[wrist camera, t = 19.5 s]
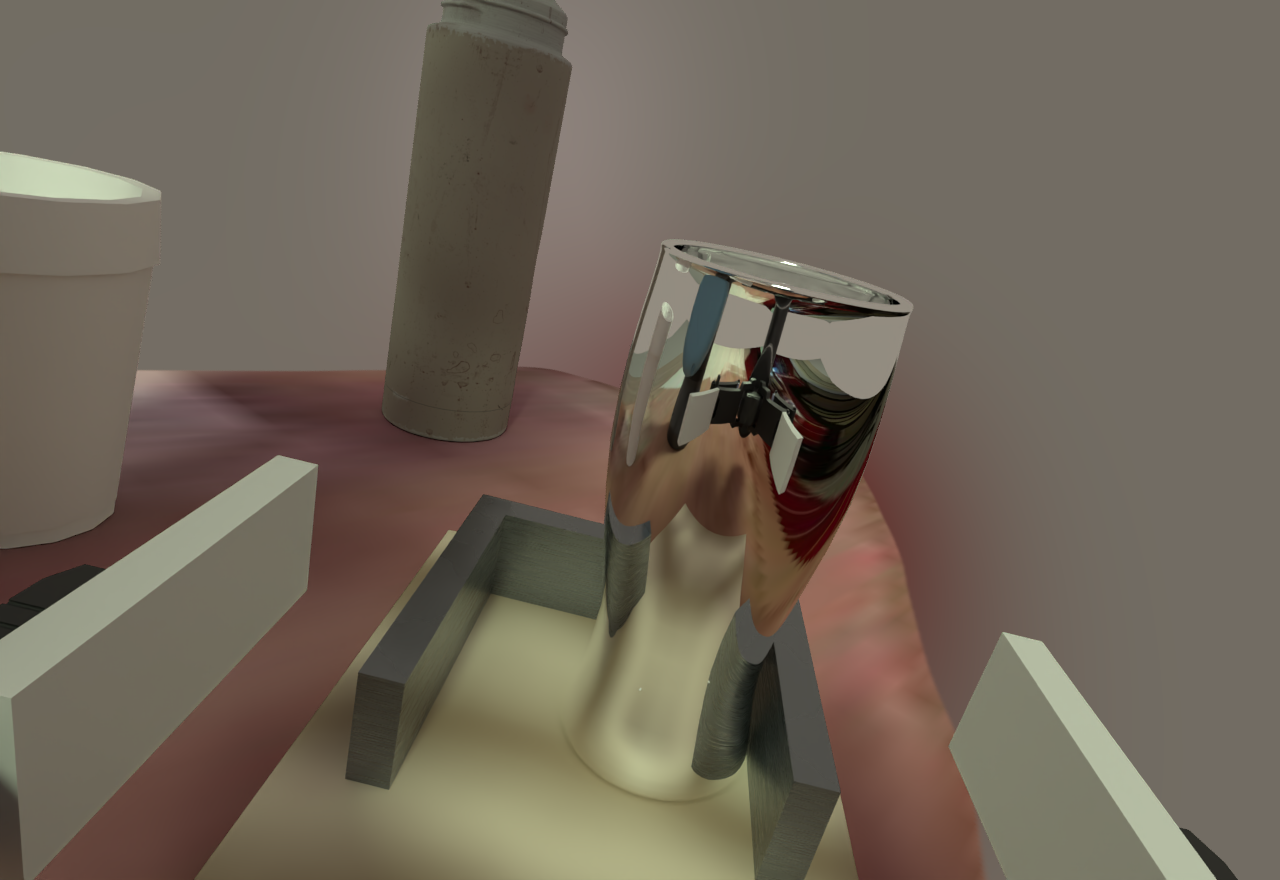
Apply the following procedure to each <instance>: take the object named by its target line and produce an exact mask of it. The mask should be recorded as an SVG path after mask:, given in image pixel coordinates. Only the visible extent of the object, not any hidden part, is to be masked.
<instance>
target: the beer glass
mask: <svg viewBox="0 0 1280 880" xmlns="http://www.w3.org/2000/svg"><path fill="white" fill-rule="evenodd" d="M912 310H913V304H912V303H911V302H910V301H908V300H907V299H905V298H903V297H901V296H899V295H897V294H895V293H892V292H890V291H887V290H885V289H882V288H880V287H876V286H874V285H871V284H868V283H865V282H862V281H859V280H856V279H853V278H850V277H847V276H843V275H840V274H837V273H834V272H830V271H827V270H823V269H819V268H816V267H812V266H809V265H805V264H801V263H797V262H793V261H790V260H785V259H782V258H778V257H774V256H769V255H765V254H760V253H756V252H752V251H747V250H743V249H737V248H732V247H728V246H722V245H717V244H711V243H705V242H698V241H690V240H679V239H669V240H665V241H663V242H662V243H661V250H660V254H659V258H658V261H657V265H656V268H655V271H654V274H653V278H652V281H651V284H650V287H649V290H648V293H647V296H646V299H645V302H644V305H643V308H642V312H641V315H640V318H639V321H638V325H637V328H636V331H635V334H634V338H633V341H632V344H631V348H630V352H629V356H628V359H627V363H626V367H625V371H624V375H623V379H622V382H621V386H620V390H619V395H618V400H617V406H616V411H615V416H614V421H613V427H612V432H611V437H610V448H609V458H608V468H607V478H606V495H605V516H604V541H603V567H602V582H601V595H600V601H599V607H598V612H597V618H596V621H595V625H594V628H593V632H592V635H591V638H590V640H589V643H588V645H587V648H586V650H585V652H584V654H583V656H582V658H581V660H580V662H579V664H578V666H577V669H576V671H575V673H574V675H573V677H572V679H571V681H570V684H569V686H568V688H567V691H566V694H565V697H564V701H563V706H562V720H563V726H564V730H565V733H566V736H567V739H568V741H569V743H570V744H571V746H572V748H573V749H574V751H575V752H576V754H577V755H578V756H579V757H580V759H581V760H582V761H583V762H584V763H585V764H586V765H587V766H588V767H589V768H590V769H591V770H592V771H594V772H595V773H596V774H597V775H599V776H600V777H601V778H603V779H604V780H606V781H607V782H609V783H611V784H613V785H614V786H616V787H618V788H620V789H622V790H625V791H627V792H629V793H632V794H635V795H638V796H641V797H645V798H649V799H654V800H660V801H673V802H679V801H691V800H697V799H701V798H704V797H707V796H710V795H713V794H715V793H717V792H719V791H720V790H722V789H724V788H725V787H726V786H728V785H729V784H730V783H731V782H732V781H733V780H734V779H735V777H736V776H737V774H738V773H739V772H740V770H741V768H742V766H743V763H744V760H745V757H746V753H747V748H748V742H749V734H750V726H751V717H752V708H753V701H754V696H755V690H756V686H757V683H758V679H759V676H760V672H761V669H762V667H763V665H764V662H765V660H766V657H767V655H768V653H769V650H770V648H771V646H772V644H773V643H774V641H775V639H776V637H777V635H778V634H779V632H780V630H781V628H782V626H783V625H784V623H785V621H786V619H787V618H788V616H789V614H790V613H791V611H792V609H793V608H794V606H795V604H796V603H797V601H798V599H799V598H800V596H801V594H802V593H803V591H804V589H805V588H806V586H807V584H808V582H809V581H810V579H811V577H812V576H813V574H814V572H815V570H816V569H817V567H818V565H819V564H820V562H821V560H822V558H823V557H824V555H825V553H826V552H827V550H828V548H829V546H830V544H831V542H832V540H833V538H834V536H835V534H836V532H837V531H838V529H839V527H840V525H841V523H842V521H843V519H844V517H845V515H846V513H847V511H848V509H849V507H850V505H851V503H852V500H853V498H854V495H855V492H856V490H857V487H858V485H859V482H860V480H861V477H862V475H863V472H864V470H865V467H866V465H867V462H868V459H869V456H870V453H871V450H872V447H873V444H874V441H875V438H876V435H877V432H878V429H879V425H880V422H881V419H882V416H883V413H884V409H885V405H886V402H887V398H888V394H889V391H890V387H891V383H892V380H893V376H894V372H895V368H896V364H897V360H898V356H899V352H900V348H901V344H902V341H903V337H904V334H905V330H906V326H907V323H908V320H909V316H910V314H911V312H912Z"/></svg>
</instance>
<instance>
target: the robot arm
mask: <svg viewBox="0 0 1280 880" xmlns="http://www.w3.org/2000/svg"><path fill="white" fill-rule="evenodd" d="M317 474H318V465H317V464H313V463H309V462H305V461H301V460H297V459H293V458H288V457H284V456H280V455H277V456H276V457H274V458H273V459H271V460H270V461H268V462H267V463H265V464H264V465H262V466H261V467H259V468H258V469H256V470H255V471H253V472H252V473H250V474H249V475H247V476H246V477H244V478H243V479H241V480H240V481H238V482H237V483H235V484H234V485H232V486H231V487H229V488H228V489H226V490H225V491H223V492H222V493H220V494H219V495H217V496H216V497H214V498H213V499H211V500H210V501H208V502H207V503H205V504H204V505H202V506H201V507H199V508H198V509H196V510H195V511H193V512H192V513H190V514H189V515H187V516H186V517H184V518H183V519H181V520H180V521H178V522H177V523H175V524H174V525H172V526H170V527H169V528H167V529H166V530H164V531H163V532H161V533H160V534H158V535H157V536H155V537H154V538H152V539H151V540H149V541H148V542H146V543H145V544H143V545H142V546H140V547H139V548H137V549H136V550H134V551H133V552H131V553H130V554H128V555H127V556H125V557H124V558H122V559H121V560H119V561H118V562H116V563H115V564H113V565H112V566H110V567H109V568H107V569H103V568H98V567H94V566H90V565H86V564H85V565H82V566H79V567H76V568H73V569H70V570H67V571H64V572H61V573H58V574H55V575H52V576H49V577H46V578H43V579H41V580H40V581H38V582H37V583H35V584H33V585H32V586H30V587H28V588H27V589H25V590H23V591H22V592H20V593H19V594H17V595H15V596H14V597H12V598H10V599H9V602H8V603H7V604H3V603H2V604H1V605H0V880H34V879H35V877H36V876H37V875H38V874H39V873H40V872H41V871H42V870H43V869H44V868H45V867H46V866H47V865H48V864H49V863H50V862H51V861H52V859H53V858H54V857H55V856H56V855H57V854H58V853H59V852H60V851H61V850H62V849H63V848H64V847H65V846H66V845H67V844H68V843H69V842H70V840H71V839H72V838H73V837H74V836H75V835H76V834H77V833H78V832H79V831H80V830H81V829H82V828H83V827H84V826H85V825H86V824H87V822H88V821H89V820H90V819H91V818H92V817H93V816H94V815H95V814H96V813H97V812H98V811H99V810H100V809H101V808H102V807H103V806H104V804H105V803H106V802H107V801H108V800H109V799H110V798H111V797H112V796H113V795H114V794H115V793H116V792H117V791H118V790H119V789H120V788H121V787H122V785H123V784H124V783H125V782H126V781H127V780H128V779H129V778H130V777H131V776H132V775H133V774H134V773H135V772H136V771H137V770H138V769H139V767H140V766H141V765H142V764H143V763H144V762H145V761H146V760H147V759H148V758H149V757H150V756H151V755H152V754H153V753H154V752H155V751H156V750H157V748H158V747H159V746H160V745H161V744H162V743H163V742H164V741H165V740H166V739H167V738H168V737H169V736H170V735H171V734H172V733H173V732H174V730H175V729H176V728H177V727H178V726H179V725H180V724H181V723H182V722H183V721H184V720H185V719H186V718H187V717H188V716H189V715H190V714H191V712H192V711H193V710H194V709H195V708H196V707H197V706H198V705H199V704H200V703H201V702H202V701H203V700H204V699H205V698H206V697H207V696H208V695H209V693H210V692H211V691H212V690H213V689H214V688H215V687H216V686H217V685H218V684H219V683H220V682H221V681H222V680H223V679H224V678H225V677H226V675H227V674H228V673H229V672H230V671H231V670H232V669H233V668H234V667H235V666H236V665H237V664H238V663H239V662H240V661H241V660H242V659H243V657H244V656H245V655H246V654H247V653H248V652H249V651H250V650H251V649H252V648H253V647H254V646H255V645H256V644H257V643H258V642H259V641H260V640H261V638H262V637H263V636H264V635H265V634H266V633H267V632H268V631H269V630H270V629H271V628H272V627H273V626H274V625H275V624H276V623H277V622H278V620H279V619H280V618H281V617H282V616H283V615H284V614H285V613H286V612H287V611H288V610H289V609H290V608H291V607H292V606H293V605H294V604H295V602H296V601H297V600H298V599H299V598H300V597H301V596H302V595H303V594H304V593H305V592H306V591H307V584H308V573H309V562H310V551H311V540H312V529H313V518H314V507H315V496H316V485H317ZM949 749H950V751H951V753H952V755H953V758H954V760H955V762H956V765H957V767H958V769H959V771H960V774H961V776H962V778H963V781H964V783H965V785H966V788H967V790H968V792H969V794H970V797H971V799H972V801H973V804H974V806H975V808H976V810H977V813H978V815H979V817H980V820H981V822H982V824H983V827H984V829H985V831H986V833H987V836H988V838H989V840H990V843H991V845H992V847H993V849H994V852H995V854H996V856H997V859H998V861H999V863H1000V865H1001V867H1002V870H1003V872H1004V875H1005V877H1006V879H1007V880H1238V879H1237V878H1236V877H1235V876H1234V874H1233V873H1232V872H1231V870H1230V869H1229V868H1228V866H1227V865H1226V864H1225V863H1224V862H1223V861H1222V860H1221V859H1220V858H1219V857H1218V856H1217V855H1216V854H1215V853H1213V852H1212V851H1211V850H1210V849H1209V848H1208V847H1207V846H1206V845H1205V844H1204V843H1202V842H1201V841H1200V840H1199V839H1198V838H1197V837H1196V836H1195V835H1194V834H1193V833H1191V831H1189V830H1187V829H1183V828H1179V827H1178V826H1177V825H1176V823H1175V822H1174V821H1173V820H1172V818H1171V817H1170V816H1169V814H1168V813H1167V811H1166V810H1165V808H1164V807H1163V806H1162V804H1161V803H1160V802H1159V800H1158V799H1157V798H1156V797H1155V795H1154V793H1153V792H1152V791H1151V789H1150V788H1149V787H1148V785H1147V784H1146V783H1145V781H1144V780H1143V779H1142V777H1141V776H1140V774H1139V773H1138V772H1137V770H1136V769H1135V768H1134V766H1133V765H1132V764H1131V762H1130V761H1129V759H1128V758H1127V757H1126V755H1125V754H1124V753H1123V751H1122V750H1121V748H1120V747H1119V746H1118V744H1117V743H1116V742H1115V740H1114V739H1113V738H1112V736H1111V735H1110V734H1109V732H1108V731H1107V729H1106V728H1105V727H1104V725H1103V724H1102V723H1101V721H1100V720H1099V719H1098V717H1097V716H1096V714H1095V713H1094V712H1093V710H1092V709H1091V708H1090V706H1089V705H1088V704H1087V702H1086V701H1085V699H1084V698H1083V697H1082V695H1081V694H1080V693H1079V691H1078V690H1077V689H1076V687H1075V686H1074V685H1073V683H1072V682H1071V681H1070V679H1069V678H1068V676H1067V675H1066V674H1065V672H1064V671H1063V669H1062V668H1061V667H1060V665H1059V664H1058V663H1057V661H1056V660H1055V659H1054V657H1053V656H1052V655H1051V653H1050V652H1049V651H1048V649H1047V648H1046V646H1045V645H1044V644H1043V642H1041V641H1037V640H1032V639H1029V638H1025V637H1020V636H1017V635H1013V634H1009V633H1005V632H1003V633H1002V634H1001V636H1000V638H999V640H998V642H997V645H996V647H995V649H994V651H993V653H992V655H991V657H990V660H989V662H988V664H987V666H986V668H985V670H984V672H983V674H982V677H981V679H980V681H979V683H978V685H977V687H976V689H975V691H974V693H973V696H972V698H971V700H970V702H969V704H968V706H967V708H966V710H965V712H964V715H963V717H962V719H961V721H960V723H959V725H958V727H957V729H956V732H955V734H954V736H953V738H952V740H951V742H950V744H949Z"/></svg>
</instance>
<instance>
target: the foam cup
mask: <svg viewBox="0 0 1280 880" xmlns="http://www.w3.org/2000/svg"><path fill="white" fill-rule="evenodd" d="M160 245H161V191H159V190H157V189H155V188H152V187H150V186H148V185H146V184H143V183H141V182H139V181H136V180H134V179H130V178H126V177H122V176H118V175H115V174H111V173H107V172H103V171H99V170H96V169H92V168H88V167H84V166H78V165H73V164H68V163H63V162H57V161H52V160H47V159H42V158H37V157H31V156H26V155H21V154H14V153H6V152H0V549H9V548H16V547H23V546H31V545H38V544H45V543H52V542H57V541H60V540H63V539H66V538H68V537H71V536H74V535H77V534H80V533H83V532H86V531H89V530H91V529H94V528H95V527H96V526H97V525H99V524H100V523H101V522H103V521H104V520H105V519H106V518H108V517H109V516H110V515H112V514H113V513H114V507H115V500H116V499H117V492H118V486H119V480H120V473H121V467H122V461H123V454H124V448H125V442H126V435H127V429H128V423H129V416H130V410H131V404H132V397H133V391H134V385H135V378H136V372H137V365H138V359H139V353H140V347H141V340H142V334H143V328H144V321H145V314H146V309H147V302H148V296H149V290H150V283H151V277H152V271H153V266H155V265H159V264H160V248H161V246H160Z"/></svg>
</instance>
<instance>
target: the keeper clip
mask: <svg viewBox="0 0 1280 880" xmlns="http://www.w3.org/2000/svg"><path fill="white" fill-rule="evenodd" d="M603 541H604V524H601V523H597V522H593V521H589V520H585V519H581V518H577V517H573V516H569V515H565V514H561V513H557V512H553V511H549V510H545V509H541V508H537V507H533V506H529V505H525V504H521V503H517V502H513V501H509V500H505V499H501V498H497V497H493V496H489V495H485V494H483V495H482V497H481V498H480V500H479V501H478V503H477V504H476V505H475V507H474V508H473V510H472V511H471V513H470V514H469V515H468V517H467V518H466V520H465V521H464V523H463V524H462V525H461V527H460V528H459V530H458V531H457V532H456V534H455V535H454V537H453V538H452V540H451V541H450V542H449V544H448V545H447V547H446V548H445V550H444V551H443V552H442V554H441V555H440V557H439V558H438V559H437V561H436V562H435V564H434V565H433V567H432V568H431V569H430V571H429V572H428V574H427V575H426V577H425V578H424V579H423V581H422V582H421V584H420V585H419V587H418V588H417V589H416V591H415V592H414V594H413V595H412V596H411V598H410V599H409V601H408V602H407V604H406V605H405V606H404V608H403V609H402V611H401V612H400V614H399V615H398V616H397V618H396V619H395V621H394V622H393V623H392V625H391V626H390V628H389V629H388V631H387V632H386V633H385V635H384V636H383V638H382V639H381V641H380V642H379V643H378V645H377V646H376V648H375V649H374V651H373V652H372V653H371V655H370V656H369V658H368V659H367V660H366V662H365V663H364V665H363V666H362V668H361V669H360V670H359V672H358V678H357V686H356V694H355V702H354V710H353V718H352V727H351V735H350V743H349V751H348V759H347V767H346V775H345V779H347V780H351V781H355V782H359V783H363V784H367V785H371V786H375V787H379V788H383V789H387V790H389V789H390V787H391V785H392V783H393V781H394V779H395V777H396V775H397V773H398V771H399V769H400V768H401V766H402V764H403V762H404V760H405V758H406V756H407V754H408V752H409V750H410V748H411V746H412V744H413V742H414V741H415V739H416V737H417V735H418V733H419V731H420V729H421V727H422V725H423V723H424V721H425V719H426V717H427V715H428V714H429V712H430V710H431V708H432V706H433V704H434V702H435V700H436V698H437V696H438V694H439V692H440V690H441V688H442V686H443V685H444V683H445V681H446V679H447V677H448V675H449V673H450V671H451V669H452V667H453V665H454V663H455V661H456V659H457V658H458V656H459V654H460V652H461V650H462V648H463V646H464V644H465V642H466V640H467V638H468V636H469V634H470V632H471V631H472V629H473V627H474V625H475V623H476V621H477V619H478V617H479V615H480V613H481V611H482V609H483V607H484V605H485V603H486V602H487V600H488V598H489V596H490V594H494V595H498V596H502V597H506V598H510V599H514V600H518V601H522V602H526V603H530V604H534V605H538V606H542V607H546V608H550V609H554V610H558V611H563V612H567V613H571V614H575V615H579V616H583V617H587V618H591V619H595V620H596V618H597V612H598V607H599V601H600V595H601V582H602V567H603ZM746 758H747V773H748V787H749V802H750V816H751V831H752V846H753V860H754V875H755V880H804V879H805V877H806V874H807V872H808V870H809V867H810V865H811V862H812V860H813V858H814V855H815V853H816V851H817V848H818V846H819V843H820V841H821V839H822V836H823V834H824V832H825V829H826V827H827V824H828V822H829V820H830V817H831V815H832V812H833V810H834V808H835V805H836V803H837V801H838V798H839V796H840V793H841V791H840V787H839V782H838V778H837V773H836V768H835V764H834V759H833V755H832V750H831V745H830V741H829V736H828V732H827V727H826V722H825V718H824V713H823V709H822V704H821V699H820V695H819V690H818V686H817V681H816V676H815V672H814V667H813V663H812V658H811V653H810V649H809V644H808V640H807V635H806V630H805V626H804V621H803V617H802V612H801V608H800V603H799V599H798V601H797V603H796V604H795V606H794V608H793V609H792V611H791V613H790V614H789V616H788V618H787V619H786V621H785V623H784V625H783V626H782V628H781V630H780V632H779V634H778V635H777V637H776V639H775V641H774V643H773V644H772V646H771V648H770V650H769V653H768V655H767V657H766V660H765V662H764V665H763V667H762V669H761V672H760V676H759V679H758V683H757V686H756V690H755V696H754V701H753V708H752V717H751V726H750V734H749V742H748V748H747V753H746Z"/></svg>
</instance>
